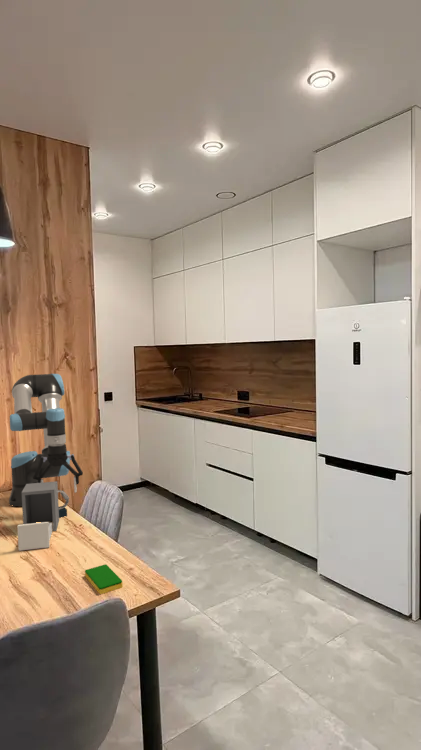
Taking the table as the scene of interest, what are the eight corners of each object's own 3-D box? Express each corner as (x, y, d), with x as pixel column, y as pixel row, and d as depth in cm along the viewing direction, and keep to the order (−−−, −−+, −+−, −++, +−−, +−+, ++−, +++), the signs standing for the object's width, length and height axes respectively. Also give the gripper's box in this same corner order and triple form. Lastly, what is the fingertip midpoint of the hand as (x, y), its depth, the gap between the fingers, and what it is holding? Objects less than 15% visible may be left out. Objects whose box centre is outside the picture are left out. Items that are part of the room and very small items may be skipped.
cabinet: (28, 523, 197) (26, 483, 196) (59, 520, 199) (57, 481, 198) (23, 534, 185) (21, 492, 184) (56, 530, 188) (54, 489, 187)
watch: (71, 515, 205) (70, 490, 205) (52, 519, 201) (51, 494, 200) (67, 511, 210) (66, 487, 209) (49, 515, 205) (47, 490, 205)
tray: (26, 533, 185) (25, 510, 185) (53, 530, 188) (52, 508, 187) (18, 550, 169) (17, 526, 169) (49, 547, 172) (48, 522, 171)
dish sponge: (106, 571, 154) (106, 563, 153) (123, 588, 142) (122, 580, 142) (84, 577, 150) (84, 569, 150) (100, 595, 138) (99, 587, 138)
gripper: (24, 448, 197) (27, 498, 198) (86, 443, 202) (88, 492, 203) (27, 445, 204) (30, 493, 205) (87, 440, 210) (89, 488, 211)
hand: (59, 493), depth 204 cm, fingers open, 13 cm apart
